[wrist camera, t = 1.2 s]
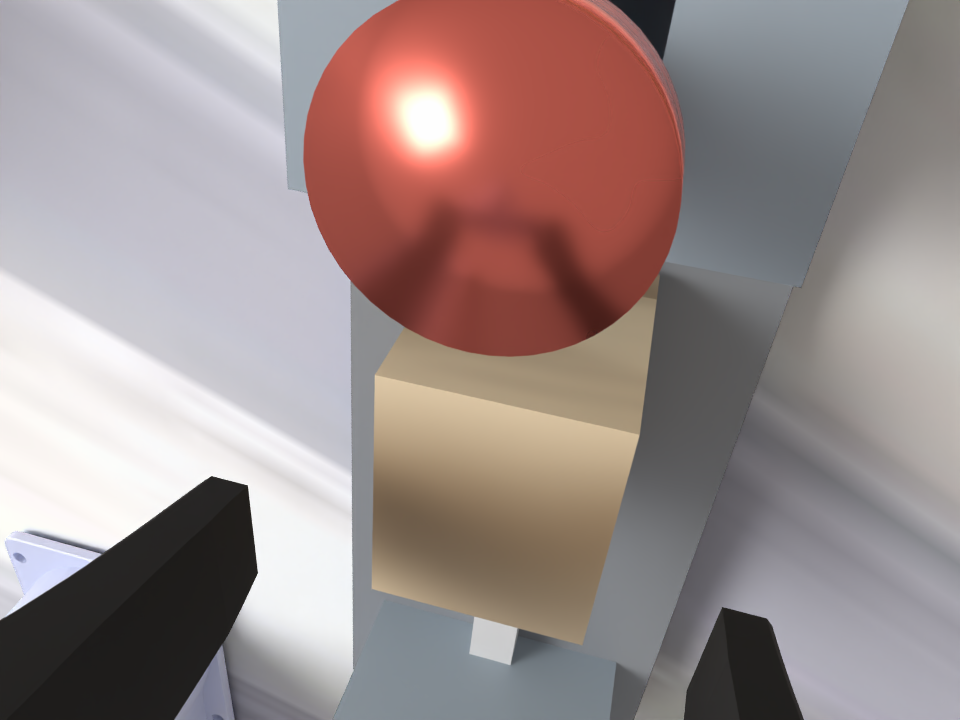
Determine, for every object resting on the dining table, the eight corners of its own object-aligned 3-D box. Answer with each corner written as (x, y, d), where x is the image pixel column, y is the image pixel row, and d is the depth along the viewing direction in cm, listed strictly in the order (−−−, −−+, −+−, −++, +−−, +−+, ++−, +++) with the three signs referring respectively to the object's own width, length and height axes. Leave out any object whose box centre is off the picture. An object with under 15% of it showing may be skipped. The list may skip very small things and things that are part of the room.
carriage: (611, 464, 18) (582, 645, 14) (445, 425, 19) (371, 589, 15) (659, 274, 15) (639, 434, 11) (461, 235, 16) (375, 374, 12)
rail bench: (627, 711, 26) (604, 933, 20) (366, 638, 27) (283, 830, 22) (915, -101, 12) (1059, -49, 7) (373, -165, 14) (167, -161, 9)
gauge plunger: (660, 218, 10) (634, 389, 7) (427, 175, 11) (310, 318, 8) (725, -52, 9) (731, 18, 5) (441, -90, 9) (294, -45, 6)
